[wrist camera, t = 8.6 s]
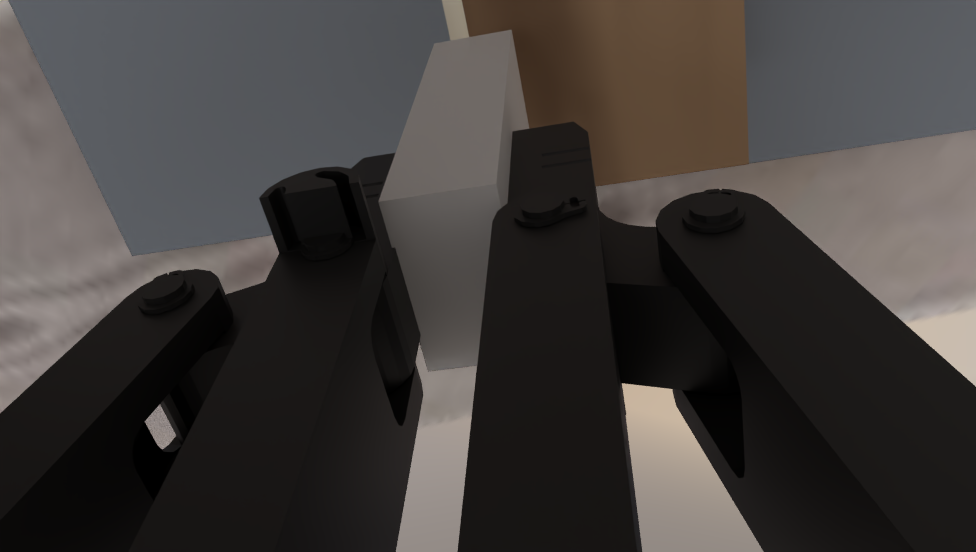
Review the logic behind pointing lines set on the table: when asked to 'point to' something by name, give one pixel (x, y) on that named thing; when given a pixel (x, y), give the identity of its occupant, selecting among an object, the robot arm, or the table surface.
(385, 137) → the mat
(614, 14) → the walnut cube
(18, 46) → the table surface
